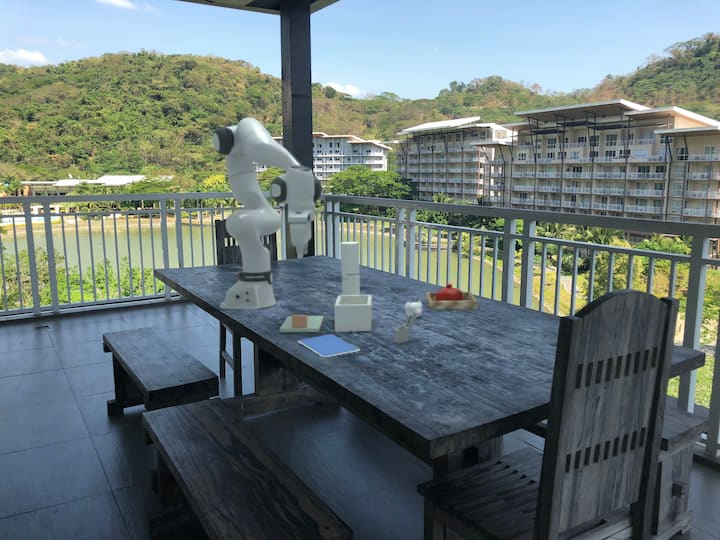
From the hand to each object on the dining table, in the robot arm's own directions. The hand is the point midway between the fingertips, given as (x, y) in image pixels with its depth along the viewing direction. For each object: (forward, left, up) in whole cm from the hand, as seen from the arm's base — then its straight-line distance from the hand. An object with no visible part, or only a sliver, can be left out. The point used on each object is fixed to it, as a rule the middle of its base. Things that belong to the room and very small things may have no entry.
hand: (302, 256), depth 186 cm
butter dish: (+53, +33, -25) cm, 68 cm away
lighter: (+34, -17, -25) cm, 46 cm away
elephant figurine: (+38, +13, -25) cm, 47 cm away
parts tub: (+17, +2, -25) cm, 30 cm away
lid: (-1, +1, -25) cm, 25 cm away
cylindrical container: (+14, +35, -25) cm, 45 cm away
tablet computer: (+10, -22, -26) cm, 35 cm away
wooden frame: (+54, +33, -25) cm, 68 cm away
